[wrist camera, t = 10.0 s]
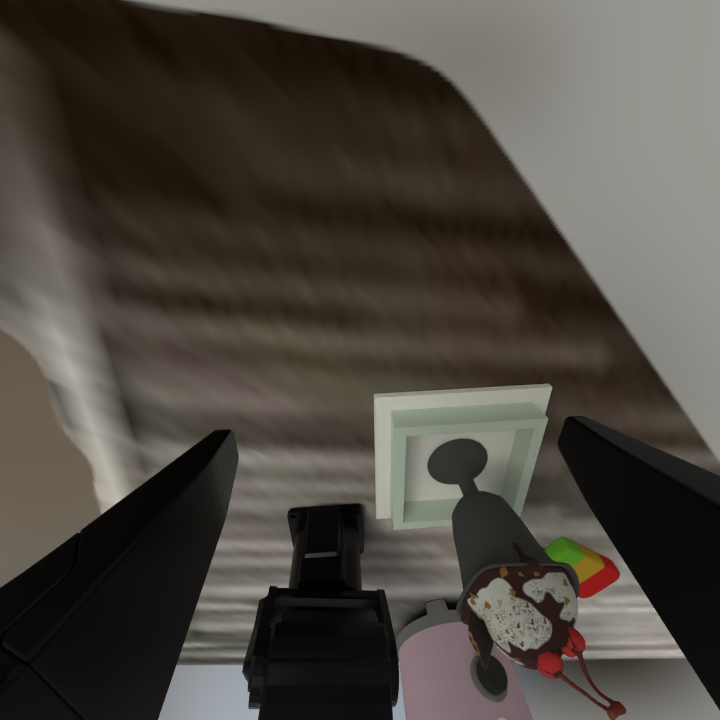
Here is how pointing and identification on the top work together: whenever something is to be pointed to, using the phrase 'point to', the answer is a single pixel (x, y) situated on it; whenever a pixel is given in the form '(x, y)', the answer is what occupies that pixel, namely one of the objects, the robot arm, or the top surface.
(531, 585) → the sundae
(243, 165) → the top surface
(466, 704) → the blender
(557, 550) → the popsicle
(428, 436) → the holder cell
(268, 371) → the top surface
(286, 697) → the robot arm
